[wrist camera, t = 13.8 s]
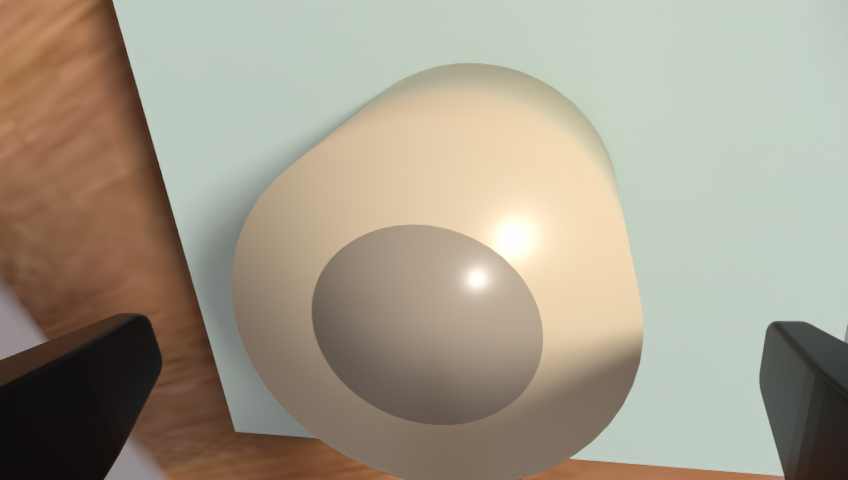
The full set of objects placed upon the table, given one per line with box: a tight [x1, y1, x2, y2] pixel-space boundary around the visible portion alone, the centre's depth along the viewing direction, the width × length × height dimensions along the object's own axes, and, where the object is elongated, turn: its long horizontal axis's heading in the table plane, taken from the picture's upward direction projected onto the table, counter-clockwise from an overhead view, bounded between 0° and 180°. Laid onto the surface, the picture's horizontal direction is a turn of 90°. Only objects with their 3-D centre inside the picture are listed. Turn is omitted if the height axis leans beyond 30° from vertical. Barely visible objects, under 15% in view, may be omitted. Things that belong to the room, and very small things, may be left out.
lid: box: [112, 0, 848, 476], centre depth 14 cm, size 14×16×1 cm
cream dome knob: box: [231, 63, 643, 480], centre depth 12 cm, size 6×6×5 cm
